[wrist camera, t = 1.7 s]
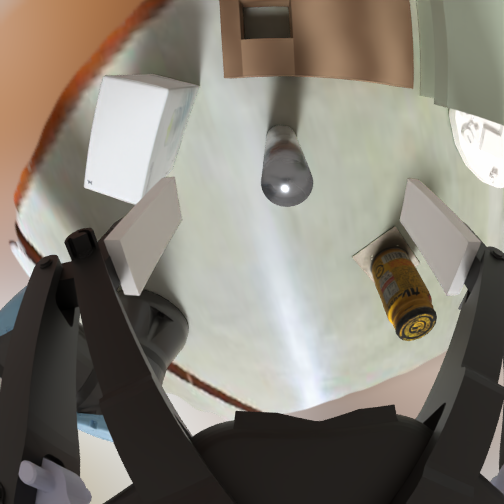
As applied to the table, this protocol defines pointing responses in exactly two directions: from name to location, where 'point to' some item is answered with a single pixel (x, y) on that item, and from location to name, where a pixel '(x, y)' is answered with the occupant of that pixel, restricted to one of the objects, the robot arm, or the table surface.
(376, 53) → the socket block
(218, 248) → the table surface
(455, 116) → the white round plaque
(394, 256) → the condiment
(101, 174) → the skincare box
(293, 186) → the peg
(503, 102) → the pale green angled bracket
